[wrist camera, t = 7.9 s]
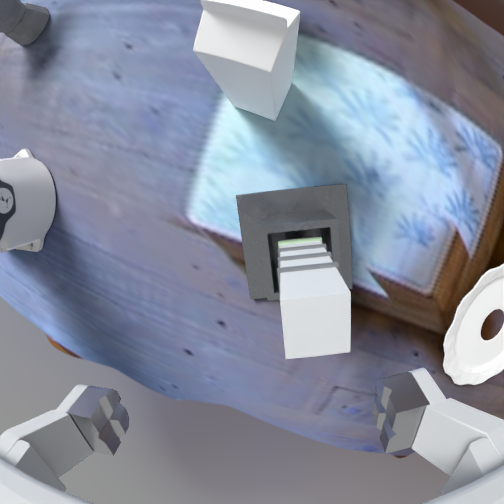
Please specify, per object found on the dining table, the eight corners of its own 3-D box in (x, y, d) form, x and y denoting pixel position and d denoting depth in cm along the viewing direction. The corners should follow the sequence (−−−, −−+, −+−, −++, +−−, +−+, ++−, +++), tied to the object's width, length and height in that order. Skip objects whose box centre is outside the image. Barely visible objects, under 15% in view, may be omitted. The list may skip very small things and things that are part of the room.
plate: (498, 379, 42) (502, 384, 40) (417, 378, 43) (420, 384, 41) (546, 272, 36) (551, 275, 34) (472, 244, 37) (478, 246, 35)
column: (282, 277, 33) (282, 361, 17) (278, 238, 32) (276, 297, 16) (321, 273, 32) (353, 354, 17) (319, 234, 31) (354, 289, 16)
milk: (275, 121, 35) (270, 58, 14) (232, 105, 35) (177, 34, 14) (292, 82, 34) (305, -12, 13) (249, 67, 34) (217, -31, 12)
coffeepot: (27, 59, 34) (-37, 41, 17) (10, 50, 34) (-48, 35, 16) (70, -6, 31) (15, -40, 13) (48, -9, 30) (-2, -37, 13)
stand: (251, 296, 41) (242, 331, 32) (237, 195, 38) (222, 201, 29) (350, 286, 40) (369, 318, 30) (344, 183, 37) (366, 186, 27)
